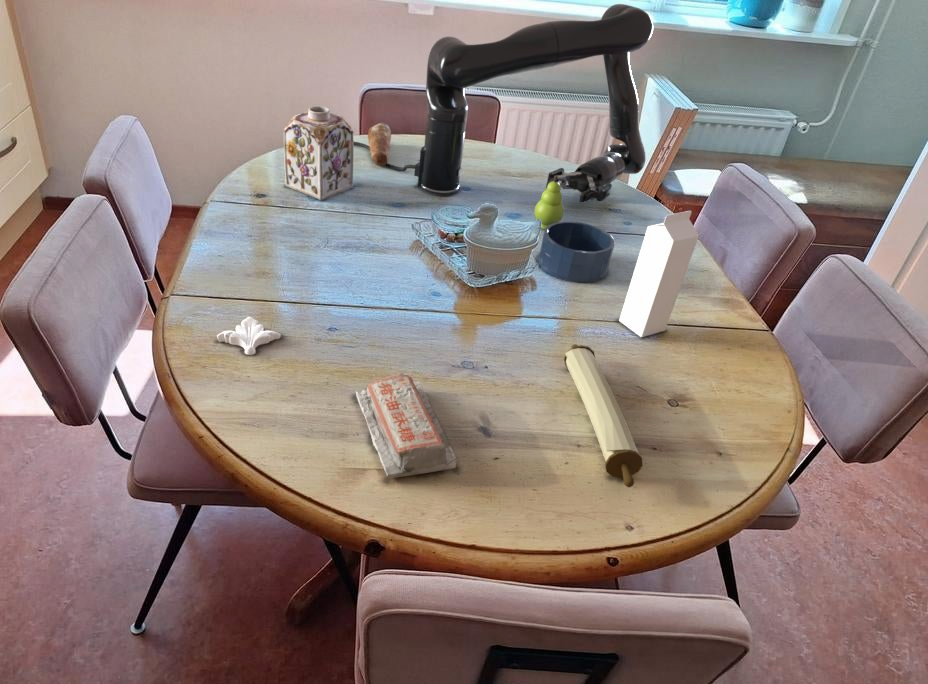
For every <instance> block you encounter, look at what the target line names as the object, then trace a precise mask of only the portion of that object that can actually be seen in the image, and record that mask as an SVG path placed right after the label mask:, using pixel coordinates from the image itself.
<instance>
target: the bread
mask: <svg viewBox="0 0 928 684" xmlns="http://www.w3.org/2000/svg"><path fill="white" fill-rule="evenodd" d="M367 131H368V132H367V141H368V146H369V147H370V151H369V153H370V152H371V154H370V157H371V161H372V163H373V164H374V165H375V166H378V167H385V166H384V165H386V164H387V163H388V161H389V153H390V147H391V142H392V141H391V140H392V131H391V128H390V126H389V125H388V124H387V123H384V122H379V123H377V124H375V125H373V126H371V127H369V129H368V130H367Z"/></svg>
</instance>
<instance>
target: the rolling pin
mask: <svg viewBox="0 0 928 684" xmlns="http://www.w3.org/2000/svg"><path fill="white" fill-rule="evenodd" d="M564 354H565V355H564V357H563V361H564V366H565V367H567V370H568V371H569V374H570V376H571V378H572V380H573V382H574V384H575V386H576V388H577V391H578V394H579V397H580V398H581V401H582V403H583V406H584V408H585V410H586V412H587V415H588V417H589V420H590V422H591V425H592V428H593V430H594V433H595V436H596V438H597V441H598V445H599V447H600V450H601V452H602V455H603V458H604V461H605V462H604V463H605V464H604V465H605V471H606V473H607V474H608V475H610V476H611V477H613V478H617V479H623V484H624V485H625V487H627V488H632V487H633V486H634V484H635V481H634V477H633V476H634V475H636V474H637V473H639V471H640V470H641V469H642V467H643V466H644V464H643V456H642V455H641V454H640V453H639V451H638V449H637V446H636V444H635V441H634V438H633V436H632V433H631V431H630V429H629V426H628V424H627V422H626V419H625V417H624V414H623V412H622V409H621V408H620V406H619V404H618V401H617V399H616V397H615V395H614V392H613V391H612V389H611V386H610V385H609V383H608V381H607V378H606V376H605V374H604V372H603V370H602V368H601V367H600V365H599V363H598V361H597V360H596V354H595V351H594V350H593V349H592V348H591V347H589V346H588V345H582V344H581V345H578V344H572V345H571V348H569V350H567V351H566V352H564Z"/></svg>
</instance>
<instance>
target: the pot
mask: <svg viewBox="0 0 928 684" xmlns="http://www.w3.org/2000/svg"><path fill="white" fill-rule="evenodd" d="M543 230H544V231H543V235H542V240H541V245H540V248H539V249H540V250H539V255H538V264H539V266H540V267H541V269H542V270H543V271H545V272H546V273H547V274H549V275H551V276H552V277H555V278H557V279H560V280H564V281H568V282H572V283H593V282H597V281H599V280H601V279H603V278H605V276H606V275H607V272H608V270H609V267H610V263H611V259H612V256H613V252H614V249H615V244H616V243H615V238H614V237H613V236H612V235H611V234H610V233H609V232H607V231H606V230H604V229H603V228H600V227H599V226H596V225H592V224H589V223H585V222H579V221H571V220H570V221H568V220H567V221H566V220H565V221H563V220H562V221H559V222H556V223H553V224H551V225H548V226H547V227H546V228H545V229H543Z"/></svg>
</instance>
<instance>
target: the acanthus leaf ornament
mask: <svg viewBox="0 0 928 684" xmlns="http://www.w3.org/2000/svg"><path fill="white" fill-rule="evenodd" d="M258 323H259V321H258V320H256V319H254V317H252V316H247V317H246V318H244V319H243V320H242V321H241V323H240V324H237V325H236V326H235V330H224V331H222V332H220V333H218V334H217V336H216V338H217V340H218V342H219V343H226V344H229V345H233V346H239V347H241V348H243V349H244V354H246V355H248V356H253V355H255V354H256V352H257V351H256V348H257V347H258V346H260V345H265V344H269V343H270V342H272V341H274V340H279V339H281V333H279V332H277V331H273V330H268V329H267V330H264V326H263V324H261V323H259V324H258Z"/></svg>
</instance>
